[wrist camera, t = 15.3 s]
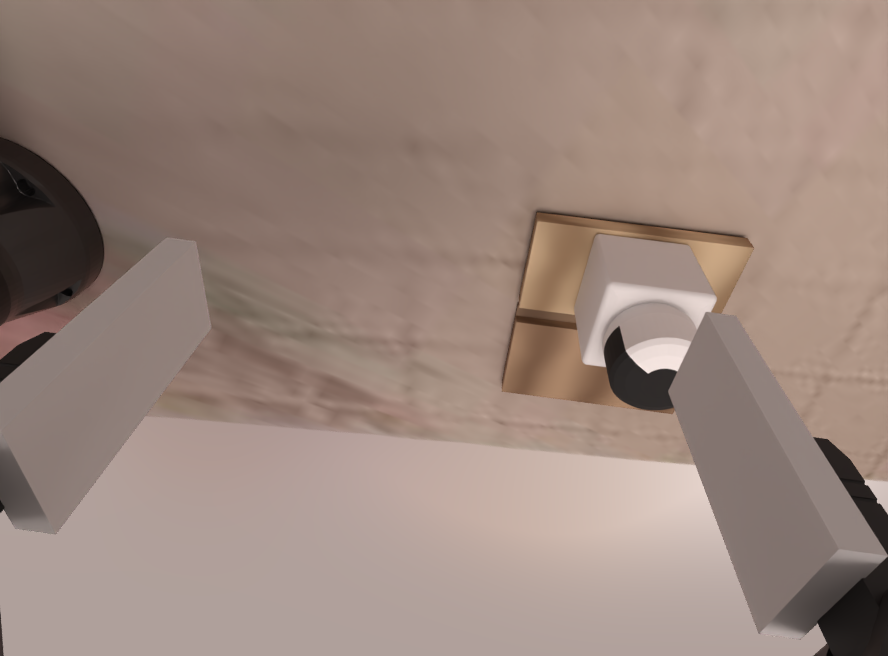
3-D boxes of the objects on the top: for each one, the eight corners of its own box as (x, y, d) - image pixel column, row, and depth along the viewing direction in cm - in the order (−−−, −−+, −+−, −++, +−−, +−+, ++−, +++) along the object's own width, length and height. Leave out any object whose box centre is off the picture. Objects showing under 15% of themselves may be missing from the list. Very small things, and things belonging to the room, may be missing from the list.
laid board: (502, 380, 52) (501, 391, 51) (518, 301, 47) (518, 311, 45) (668, 402, 51) (672, 414, 50) (704, 325, 46) (709, 335, 45)
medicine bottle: (659, 319, 44) (698, 430, 35) (572, 308, 45) (588, 416, 35) (691, 243, 40) (746, 347, 31) (594, 231, 40) (620, 330, 31)
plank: (518, 297, 46) (519, 307, 45) (536, 212, 41) (537, 221, 40) (706, 321, 46) (711, 332, 45) (747, 238, 41) (754, 248, 40)
